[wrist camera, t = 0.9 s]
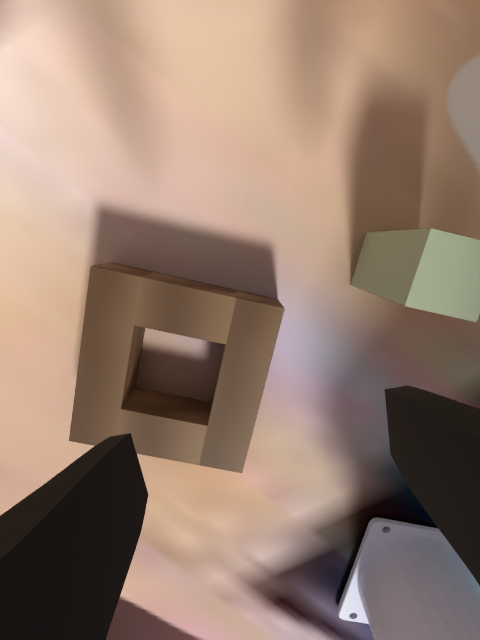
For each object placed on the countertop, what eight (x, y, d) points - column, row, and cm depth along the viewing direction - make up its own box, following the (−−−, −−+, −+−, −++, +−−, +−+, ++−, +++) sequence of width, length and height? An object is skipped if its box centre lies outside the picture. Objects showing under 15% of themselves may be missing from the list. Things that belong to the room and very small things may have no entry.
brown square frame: (278, 299, 18) (284, 308, 16) (241, 445, 20) (241, 473, 18) (110, 262, 18) (90, 266, 15) (89, 416, 20) (69, 440, 17)
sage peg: (417, 244, 18) (506, 246, 12) (399, 296, 18) (476, 322, 13) (366, 232, 18) (431, 228, 12) (350, 284, 18) (404, 305, 12)
